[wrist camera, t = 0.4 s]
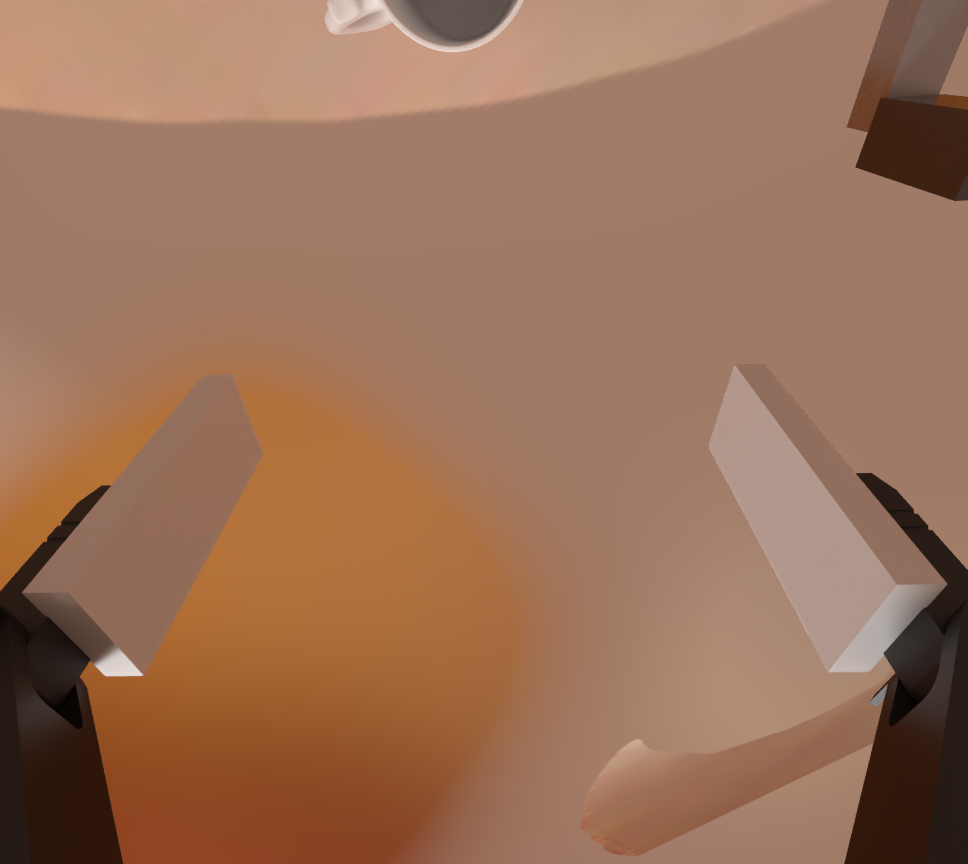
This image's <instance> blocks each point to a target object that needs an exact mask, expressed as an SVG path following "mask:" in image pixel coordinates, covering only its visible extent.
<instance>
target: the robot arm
mask: <svg viewBox="0 0 968 864" xmlns="http://www.w3.org/2000/svg"><path fill="white" fill-rule="evenodd" d="M709 449H710V451H711V453H712V454H713V456H714V458H715V460H716V462H717V464H718V466H719V468H720V470H721V471H722V473H723V475H724V477H725V479H726V481H727V483H728V485H729V486H730V488H731V490H732V492H733V494H734V496H735V498H736V500H737V502H738V504H739V505H740V507H741V509H742V511H743V513H744V515H745V517H746V518H747V521H748V522H749V524H750V526H751V528H752V530H753V532H754V534H755V536H756V538H757V539H758V541H759V543H760V545H761V547H762V549H763V551H764V553H765V554H766V556H767V558H768V560H769V562H770V564H771V566H772V568H773V570H774V572H775V573H776V575H777V577H778V579H779V581H780V583H781V585H782V587H783V589H784V590H785V592H786V594H787V596H788V598H789V600H790V601H791V604H792V605H793V607H794V609H795V611H796V613H797V615H798V617H799V619H800V621H801V623H802V625H803V626H804V628H805V630H806V632H807V634H808V636H809V638H810V639H811V641H812V643H813V645H814V647H815V649H816V651H817V653H818V655H819V656H820V659H821V660H822V662H823V664H824V666H825V668H826V670H827V672H869V671H870V670H871V669H872V668H873V667H874V666H875V665H876V664H877V662H878V661H879V660H880V659H881V658H882V657H883V656H884V655H885V657H886V658H887V660H888V661H889V663H890V665H891V666H892V668H893V669H894V671H895V674H894V675H893V676H892V677H891V678H890V679H889V680H888V681H887V682H886V683H885V684H884V685H883V687H882V688H881V689H880V690H879V691H878V692H877V693H876V694H875V695H874V696H873V698H872V699H871V701H870V702H869V703H871V704H872V705H874V706H877V705H878V704H879V703H880V702H881V701H882V700H883V699H884V702H883V706H882V710H881V714H880V718H879V723H878V727H877V731H876V735H875V739H874V743H873V747H872V752H871V756H870V760H869V764H868V768H867V772H866V776H865V780H864V784H863V789H862V793H861V797H860V801H859V805H858V809H857V813H856V818H855V822H854V826H853V830H852V834H851V838H850V842H849V846H848V851H847V855H846V859H845V863H844V864H968V570H967V569H966V568H965V567H964V565H963V564H962V563H961V562H960V561H959V560H958V559H957V558H956V557H955V556H954V555H953V553H952V552H951V551H950V550H949V549H948V547H947V546H946V545H945V544H944V543H943V542H942V541H941V540H940V538H939V537H938V536H937V535H936V534H935V533H934V532H933V531H932V530H929V529H928V525H927V524H926V523H925V522H924V521H923V520H922V518H921V517H920V516H919V515H918V514H914V509H913V508H912V507H911V506H910V505H909V504H908V503H907V501H906V500H905V499H904V498H903V497H902V496H901V495H900V494H899V492H898V491H897V490H896V489H894V488H892V487H891V486H890V485H888V484H887V483H885V482H884V481H882V480H881V479H879V478H878V477H876V476H875V475H873V474H872V473H855V472H854V471H853V470H852V469H851V467H850V466H849V465H848V464H847V462H846V461H845V460H844V459H843V458H842V456H841V455H840V454H839V453H838V452H837V450H836V449H835V448H834V447H833V446H832V444H831V443H830V442H829V441H828V440H827V438H826V437H825V436H824V435H823V434H822V432H821V431H820V430H819V429H818V428H817V426H816V425H815V424H814V423H813V422H812V421H811V419H810V418H809V417H808V416H807V414H806V413H805V412H804V411H803V409H801V407H800V406H799V405H798V403H796V401H795V400H794V399H793V397H792V396H791V395H790V394H789V393H788V392H787V390H786V389H785V388H784V387H783V385H782V384H781V383H780V382H779V381H778V379H777V378H776V377H775V376H774V375H773V373H772V372H771V371H770V370H769V369H768V368H767V366H766V365H765V364H744V365H743V364H741V365H734V368H733V371H732V375H731V378H730V381H729V384H728V387H727V390H726V394H725V396H724V400H723V403H722V406H721V409H720V412H719V415H718V418H717V421H716V425H715V428H714V431H713V434H712V437H711V440H710V443H709ZM262 455H263V452H262V449H261V447H260V445H259V442H258V439H257V437H256V434H255V432H254V429H253V426H252V424H251V421H250V419H249V416H248V414H247V411H246V409H245V406H244V404H243V401H242V399H241V396H240V393H239V391H238V388H237V386H236V383H235V381H234V378H233V375H203V376H202V378H201V379H200V380H199V381H198V382H197V383H196V385H195V386H194V387H193V388H192V389H191V391H190V392H189V393H188V394H187V395H186V397H185V398H184V399H183V400H182V401H181V403H180V404H179V405H178V406H177V407H176V409H175V410H174V411H173V412H172V413H171V415H170V416H169V417H168V418H167V420H166V421H165V422H164V423H163V424H162V426H161V427H160V428H159V429H158V430H157V431H156V433H155V434H154V435H153V436H152V437H151V439H150V440H149V441H148V442H147V443H146V445H145V446H144V447H143V448H142V449H141V451H140V452H139V453H138V454H137V455H136V457H135V458H134V459H133V460H132V462H131V463H130V464H129V465H128V466H127V467H126V469H125V470H124V471H123V472H122V473H121V475H120V476H119V477H118V478H117V479H116V481H115V482H114V483H113V484H112V485H110V486H109V485H108V486H101V487H99V488H98V489H97V490H95V491H94V492H92V493H91V494H89V495H88V496H87V497H85V498H84V499H82V500H81V501H80V502H78V503H77V504H76V506H75V507H74V508H73V509H72V510H71V511H70V512H69V514H68V515H67V516H66V517H65V518H64V519H63V520H62V521H61V526H57V527H56V528H55V529H54V531H53V532H52V533H51V534H50V535H49V536H48V537H47V542H43V543H42V544H41V545H40V547H39V548H38V549H37V550H36V552H34V554H33V555H32V556H31V557H30V558H29V559H28V560H27V561H26V563H25V564H24V565H23V566H22V567H21V568H20V569H19V571H18V572H17V573H16V574H15V575H14V576H13V577H12V579H11V580H10V581H9V582H8V583H7V584H6V585H5V587H4V588H3V589H2V590H1V591H0V864H123V861H122V856H121V851H120V846H119V841H118V837H117V832H116V827H115V822H114V817H113V812H112V807H111V802H110V798H109V793H108V788H107V784H106V778H105V773H104V768H103V763H102V758H101V754H100V749H99V744H98V739H97V734H96V729H95V724H94V719H93V715H92V710H91V705H90V700H89V695H88V690H87V687H86V685H85V684H84V682H83V681H82V679H81V678H80V675H81V674H82V672H83V671H84V669H85V667H86V666H87V664H88V663H89V661H91V662H92V663H93V664H94V665H95V666H96V667H97V668H98V669H99V670H100V671H101V672H102V673H103V674H104V675H105V676H144V675H145V673H146V671H147V669H148V667H149V665H150V663H151V661H152V659H153V658H154V656H155V654H156V652H157V650H158V649H159V647H160V645H161V643H162V641H163V639H164V637H165V635H166V634H167V632H168V630H169V628H170V626H171V624H172V622H173V621H174V619H175V616H176V615H177V613H178V611H179V609H180V608H181V606H182V604H183V602H184V600H185V598H186V596H187V594H188V592H189V591H190V589H191V587H192V585H193V583H194V582H195V580H196V578H197V576H198V574H199V572H200V570H201V568H202V567H203V565H204V563H205V561H206V559H207V557H208V555H209V554H210V552H211V550H212V548H213V546H214V544H215V542H216V541H217V539H218V537H219V535H220V533H221V531H222V529H223V528H224V526H225V524H226V522H227V520H228V518H229V516H230V514H231V513H232V511H233V509H234V507H235V505H236V503H237V501H238V499H239V498H240V496H241V494H242V492H243V490H244V488H245V486H246V485H247V483H248V481H249V479H250V477H251V475H252V474H253V472H254V470H255V468H256V466H257V464H258V462H259V460H260V458H261V457H262Z"/></svg>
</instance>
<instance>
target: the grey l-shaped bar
mask: <svg viewBox="0 0 968 864" xmlns="http://www.w3.org/2000/svg"><path fill="white" fill-rule="evenodd" d="M967 26H968V0H889V3H888V6H887V9H886V12H885V15H884V18H883V21H882V24H881V27H880V30H879V33H878V36H877V39H876V42H875V44H874V48H873V51H872V53H871V56H870V60H869V62H868V65H867V68H866V71H865V74H864V77H863V80H862V83H861V86H860V89H859V92H858V95H857V98H856V101H855V104H854V107H853V110H852V113H851V116H850V119H849V122H848V125H847V127H848V128H852V129H857V130H861V131H865V132H868V134H867V137H866V140H865V142H864V145H863V148H862V151H861V153H860V156H859V159H858V162H857V164H856V168H859V169H862V170H865V171H868V172H871V173H874V174H877V175H879V176H882V177H885V178H889V179H891V180H894V181H897V182H900V183H903V184H906V185H909V186H912V187H915V188H918V189H921V190H924V191H927V192H930V193H933V194H936V195H939V196H942V197H945V198H948V199H951V200H954V201H961V200H962V201H963V200H968V97H964V96H955V95H946V94H944V95H939V93H940V90H941V88H942V86H943V83H944V81H945V79H946V76H947V74H948V71H949V69H950V67H951V64H952V62H953V59H954V57H955V55H956V52H957V50H958V47H959V45H960V43H961V40H962V38H963V35H964V33H965V31H966V28H967Z"/></svg>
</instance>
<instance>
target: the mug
mask: <svg viewBox="0 0 968 864" xmlns="http://www.w3.org/2000/svg"><path fill="white" fill-rule="evenodd" d="M523 2H524V0H327V6H328V7H327V9H326V11H325V23H326V26H327V28H328V30H329V31H330V32H331V33H333V34H338V35H341V34H352V33H360V32H366V31H372V30H376V29H379V28H382V27H384V26H386V25H388V24H390V23H392V22H393V23H394V24H395V25H396V26H397V27H398V28H399V29H400V30H401V31H402V32H404V33H405V34H406V35H407V36H408V37H410V38H411V39H413V40H414V41H416V42H418V43H420V44H422V45H424V46H426V47H428V48H431V49H435V50H439V51H445V52H460V51H466V50H470V49H474V48H476V47H479V46H481V45H484V44H485V43H487V42H489V41H490V40H492V39H493V38H495V37H496V36H497V35H498V34H499V33H500V32H502V31H503V30H504V29H505V28H506V26H507V25H508V24H509V23H510V22H511V21H512V19H513V18H514V17H515V15H516V14H517V12H518V11H519V9H520V7H521V6H522V4H523Z"/></svg>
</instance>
